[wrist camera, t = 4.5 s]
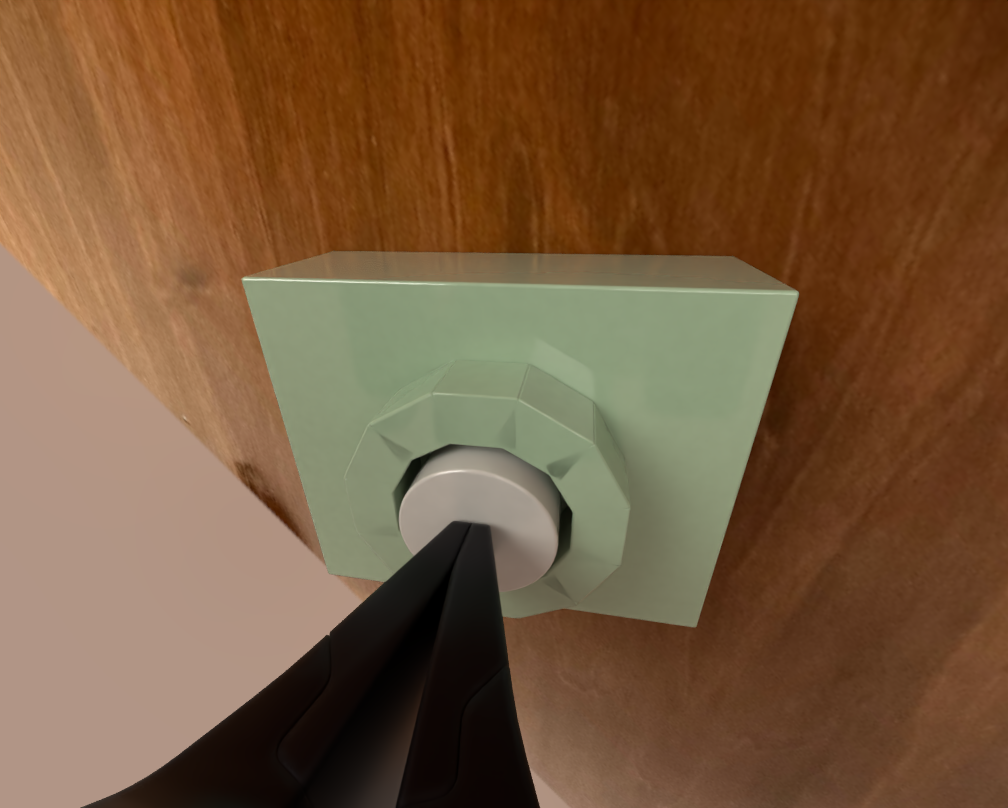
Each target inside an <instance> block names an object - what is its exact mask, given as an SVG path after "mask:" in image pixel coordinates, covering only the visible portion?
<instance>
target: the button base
mask: <svg viewBox="0 0 1008 808" xmlns="http://www.w3.org/2000/svg"><path fill="white" fill-rule="evenodd" d="M242 283H243V287H244V290H245V293H246V297H247V300H248V304H249V307H250V310H251V314H252V317H253V320H254V324H255V327H256V331H257V334H258V337H259V341H260V344H261V347H262V351H263V354H264V358H265V361H266V364H267V368H268V371H269V374H270V378H271V381H272V385H273V388H274V391H275V395H276V398H277V401H278V405H279V408H280V412H281V415H282V418H283V422H284V425H285V428H286V432H287V435H288V439H289V442H290V445H291V449H292V452H293V455H294V459H295V462H296V466H297V469H298V472H299V476H300V479H301V483H302V486H303V489H304V493H305V496H306V499H307V503H308V506H309V510H310V513H311V516H312V520H313V523H314V526H315V530H316V533H317V537H318V540H319V543H320V547H321V550H322V553H323V557H324V560H325V564H326V567H327V570H328V573H329V574H332V575H339V576H346V577H353V578H360V579H366V580H373V581H380V582H386V581H387V580H388V579H389V578H390V577H391V576H392V575H393V574H395V573H396V572H397V571H398V570H399V569H400V568H401V567H402V566H403V565H404V564H406V563H407V562H408V561H409V560H410V559H411V558H412V557H413V555H412V553H411V552H410V551H409V549H408V547H407V546H406V544H405V542H404V540H403V537H402V535H401V531H400V526H399V510H400V506H401V502H402V500H403V498H404V496H405V494H406V492H407V491H408V489H409V487H410V486H411V484H412V482H413V480H414V479H415V477H416V475H417V474H418V472H419V470H420V468H421V467H422V465H423V463H424V462H425V460H426V458H427V456H428V455H429V453H430V452H432V451H435V450H437V449H439V448H442V447H444V446H446V445H448V444H458V445H469V446H480V447H492V448H503V449H505V450H506V451H508V452H510V453H512V454H513V455H515V456H517V457H519V458H520V459H522V460H524V461H526V462H527V463H529V464H531V465H532V466H534V467H536V468H538V469H539V470H541V471H543V472H545V473H546V474H548V475H549V476H550V477H551V479H552V480H553V482H554V483H555V485H556V487H557V488H558V490H559V491H560V493H561V495H562V508H561V520H560V531H559V543H558V550H557V554H556V557H555V560H554V562H553V563H552V565H551V567H550V568H549V569H548V571H547V572H546V573H545V574H544V575H543V576H542V577H541V578H540V579H538V580H537V581H535V582H534V583H532V584H530V585H528V586H526V587H523V588H520V589H517V590H512V591H507V592H499V594H500V601H501V609H502V616H503V617H510V618H523V617H528V616H532V615H537V614H541V613H546V612H550V611H555V610H559V609H563V608H564V609H571V610H578V611H585V612H592V613H598V614H605V615H612V616H619V617H626V618H632V619H639V620H646V621H653V622H660V623H667V624H673V625H680V626H687V627H696V626H697V623H698V620H699V616H700V613H701V610H702V607H703V603H704V600H705V597H706V594H707V591H708V587H709V584H710V581H711V578H712V574H713V571H714V568H715V565H716V561H717V558H718V555H719V552H720V549H721V545H722V542H723V539H724V536H725V532H726V529H727V526H728V523H729V519H730V516H731V513H732V510H733V507H734V503H735V500H736V497H737V494H738V490H739V487H740V484H741V481H742V478H743V474H744V471H745V468H746V465H747V461H748V458H749V455H750V452H751V448H752V445H753V442H754V439H755V436H756V432H757V429H758V426H759V423H760V419H761V416H762V413H763V410H764V406H765V403H766V400H767V397H768V394H769V390H770V387H771V384H772V381H773V377H774V374H775V371H776V368H777V364H778V361H779V358H780V355H781V352H782V348H783V345H784V342H785V339H786V335H787V332H788V329H789V326H790V323H791V319H792V316H793V313H794V310H795V306H796V303H797V300H798V297H799V291H797V290H795V289H793V288H791V287H790V286H788V285H786V284H784V283H782V282H780V281H778V280H777V279H775V278H773V277H771V276H769V275H767V274H765V273H764V272H762V271H760V270H758V269H756V268H754V267H752V266H751V265H749V264H747V263H745V262H743V261H741V260H740V259H738V258H736V257H734V256H675V255H598V254H522V253H445V252H368V251H333V252H329V253H326V254H322V255H319V256H315V257H312V258H308V259H305V260H301V261H298V262H294V263H291V264H287V265H283V266H280V267H276V268H273V269H269V270H266V271H262V272H259V273H255V274H252V275H248V276H245V277H243V278H242Z"/></svg>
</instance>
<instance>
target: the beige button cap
mask: <svg viewBox="0 0 1008 808" xmlns="http://www.w3.org/2000/svg"><path fill="white" fill-rule="evenodd" d="M561 508H562V495H561V493H560V491H559V490H558V488H557V487H556V485H555V483H554V482H553V480H552V479H551V477H550V476H549V475H548V474H546V473H545V472H543V471H541V470H539V469H538V468H536V467H534V466H532V465H531V464H529V463H527V462H526V461H524V460H522V459H520V458H519V457H517V456H515V455H513V454H512V453H510V452H508V451H506V450H505V449H503V448H492V447H480V446H469V445H458V444H448V445H446V446H444V447H442V448H439V449H437V450H435V451H432V452H430V453H429V455H428V456H427V458H426V460H425V462H424V463H423V465H422V467H421V468H420V470H419V472H418V474H417V475H416V477H415V479H414V480H413V482H412V484H411V486H410V487H409V489H408V491H407V492H406V494H405V496H404V498H403V500H402V502H401V506H400V510H399V526H400V531H401V535H402V537H403V540H404V542H405V544H406V546H407V547H408V549H409V551H410V552H411V553H412V555H413V556H414V555H415V554H417V553H418V552H419V551H420V550H421V549H422V548H423V547H424V546H425V545H426V544H428V543H429V542H430V541H431V540H432V539H433V538H434V537H435V536H436V535H437V534H439V533H440V532H441V531H442V530H443V529H444V528H445V527H446V526H447V525H448V524H450V523H451V522H452V521H463V522H469V523H471V525H472V524H473V523H480V524H488V525H490V527H491V534H492V541H493V549H494V556H495V564H496V571H497V579H498V586H499V592H507V591H512V590H517V589H520V588H523V587H526V586H528V585H530V584H532V583H534V582H535V581H537V580H538V579H540V578H541V577H542V576H543V575H544V574H545V573H546V572H547V571H548V569H549V568H550V567H551V565H552V563H553V562H554V560H555V557H556V554H557V550H558V543H559V531H560V520H561Z"/></svg>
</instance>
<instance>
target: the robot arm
mask: <svg viewBox="0 0 1008 808" xmlns="http://www.w3.org/2000/svg"><path fill="white" fill-rule="evenodd" d="M81 808H540V806H539V802H538V799H537V795H536V791H535V787H534V784H533V780H532V776H531V772H530V768H529V765H528V761H527V757H526V753H525V749H524V745H523V740H522V736H521V732H520V728H519V723H518V719H517V713H516V707H515V701H514V695H513V689H512V682H511V674H510V668H509V661H508V653H507V646H506V638H505V631H504V624H503V616H502V609H501V601H500V594H499V586H498V579H497V571H496V564H495V556H494V549H493V541H492V534H491V527H490V525H488V524H480V523H473V524H472V525H471V523H469V522H463V521H452V522H451V523H450V524H448V525H447V526H446V527H445V528H444V529H443V530H442V531H441V532H440V533H439V534H437V535H436V536H435V537H434V538H433V539H432V540H431V541H430V542H429V543H428V544H426V545H425V546H424V547H423V548H422V549H421V550H420V551H419V552H418V553H417V554H415V555H414V556H413V557H412V558H411V559H410V560H409V561H408V562H407V563H406V564H404V565H403V566H402V567H401V568H400V569H399V570H398V571H397V572H396V573H395V574H393V575H392V576H391V577H390V578H389V579H388V580H387V581H386V582H385V583H383V584H382V585H381V586H380V587H379V588H378V589H377V590H376V591H375V592H374V593H372V594H371V595H370V596H369V597H368V598H367V599H366V600H365V601H364V602H363V603H361V604H360V605H359V606H358V607H357V608H356V609H355V610H354V611H353V612H352V613H350V614H349V615H348V616H347V617H346V618H345V619H344V620H343V621H342V622H341V623H340V624H338V625H337V626H336V627H335V628H334V629H333V630H332V631H331V632H330V636H329V635H326V636H325V637H324V638H323V639H322V640H321V641H320V642H318V643H317V644H316V645H315V646H314V647H313V648H312V649H311V650H310V651H309V652H307V653H306V654H305V655H304V656H303V657H302V658H300V659H299V660H298V661H297V662H296V663H295V664H293V665H292V666H291V667H290V668H289V669H288V670H286V671H285V672H284V673H283V674H282V675H280V676H279V677H278V678H277V679H275V680H274V681H273V682H272V683H270V684H269V685H268V686H267V687H266V688H264V689H263V690H262V691H260V692H259V693H258V694H257V695H255V696H254V697H253V698H252V699H250V700H249V701H248V702H246V703H245V704H244V705H243V706H241V707H240V708H239V709H237V710H236V711H235V712H234V713H232V714H231V715H230V716H228V717H227V718H226V719H225V720H223V721H222V722H221V723H219V724H218V725H217V726H215V727H214V728H213V729H211V730H210V731H209V732H208V733H206V734H205V735H204V736H202V737H201V738H200V739H198V740H197V741H196V742H195V743H193V744H192V745H191V746H189V747H188V748H187V749H185V750H184V751H183V752H182V753H180V754H179V755H178V756H176V757H175V758H174V759H172V760H171V761H169V762H168V763H167V764H165V765H164V766H163V767H161V768H160V769H158V770H157V771H155V772H153V773H152V774H150V775H149V776H147V777H146V778H144V779H142V780H140V781H139V782H137V783H135V784H134V785H132V786H130V787H128V788H126V789H124V790H122V791H120V792H118V793H116V794H113V795H111V796H109V797H106V798H104V799H102V800H99V801H96V802H94V803H91V804H89V805H86V806H84V807H81Z"/></svg>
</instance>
